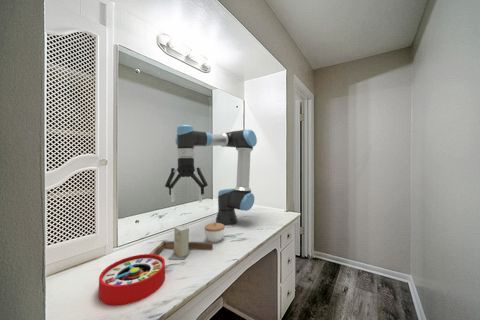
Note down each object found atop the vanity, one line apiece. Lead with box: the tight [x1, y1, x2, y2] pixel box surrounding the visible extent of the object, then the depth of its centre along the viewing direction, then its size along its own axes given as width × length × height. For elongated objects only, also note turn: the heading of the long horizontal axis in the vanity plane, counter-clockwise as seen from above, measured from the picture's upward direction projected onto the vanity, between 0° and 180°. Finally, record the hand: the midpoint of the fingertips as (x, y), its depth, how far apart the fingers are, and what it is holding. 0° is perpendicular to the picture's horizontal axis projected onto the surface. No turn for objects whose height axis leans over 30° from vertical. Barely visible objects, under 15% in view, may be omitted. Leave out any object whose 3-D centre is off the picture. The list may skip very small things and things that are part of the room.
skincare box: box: [173, 224, 190, 257], centre depth 87 cm, size 6×4×12 cm
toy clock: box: [98, 253, 166, 306], centre depth 66 cm, size 20×6×20 cm
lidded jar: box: [204, 222, 226, 243], centre depth 103 cm, size 11×11×9 cm
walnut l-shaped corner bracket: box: [148, 240, 214, 261], centre depth 86 cm, size 16×25×3 cm, turn 86°
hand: (186, 201), depth 92 cm, fingers open, 13 cm apart
